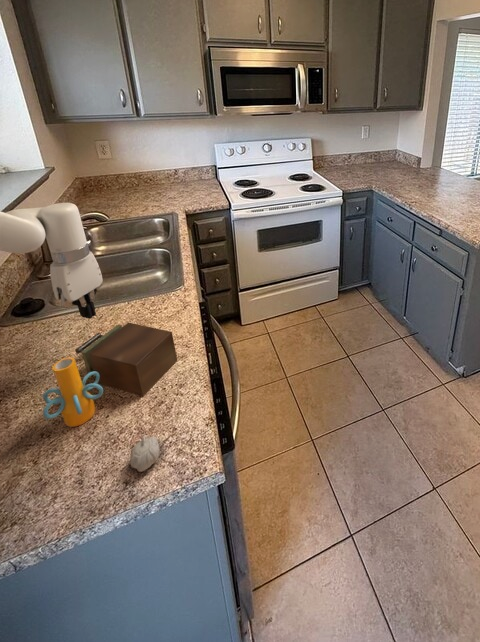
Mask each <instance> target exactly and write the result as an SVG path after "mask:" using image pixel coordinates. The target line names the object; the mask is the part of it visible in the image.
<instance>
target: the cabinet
mask: <svg viewBox="0 0 480 642" xmlns="http://www.w3.org/2000/svg"><path fill="white" fill-rule="evenodd" d="M88 354H89V358H90V361H91V365H92V368H93V371H96V372H98V373H99V375H100V379H99V382H98V383H97V384H99V385H100V386H105V387H108V388H111V389H115V390H118V391H122V392H126V393H129V394H133V395H136V396H140V397H145V396H146V395H147V393H149V391H150V390H151V389H152V388H153V387H154V386H155V385H156V384H157V383H158V382H159V381H160V380H161V379H162V378H163V377H164V375H165V374H166V373H167V372H168V371H169V370H170V369H171V368H172V367H173V366H174V365H175V364H176V363H177V362H178V356H177V351H176V346H175V340H174V335H173V331H170V330H165V329H160V328H157V327H151V326H146V325H142V324H138V323H133V322H126V324H124V325H123V326H122V328H121V329H119V330H118V331H117V332H115V333H114V334H113V335H111V336H110V337H109V338H108V339H106V340H105V341H104V342H102V343H101V344H100V345H99V346H97V347H96V348H95V349H93V350H92V351H91V352H89V353H88ZM94 379H96V376H95V375H94Z"/></svg>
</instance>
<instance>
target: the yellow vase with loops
mask: <svg viewBox="0 0 480 642" xmlns="http://www.w3.org/2000/svg"><path fill="white" fill-rule="evenodd" d="M52 371H53V373H54V378H55V380H56V384H57V387H58V388H49V389H47V390H45V392H43V395H42V399H43V401H44V402H45V403H46V405H45V407H44V409H43V413H42V414H43V418H45V419H47V420H51V419H54V418H55V419H56V417H59V415H60V414H61V416H62V419H63V423H64V424H65V425H66V426H67V427H71V428H72V427H79V426H81V425H83V424H85V423H86V422H88V421H89V420H90V419H91V418H92V417H93V416H94V414H95V413H96V405H95V402H94V400H97V399H99V398H101V397H102V396H103V395H104V388H103V387H102V386H103V385H101V384H97V383H98V382H99V379H100V375H99V373H98V372H96V371H93V372H90V373H88V372H87V374H86V375H84V377H83V378H81V375H80V372H79V368H78V365H77V361H76V359H75V358H74V357H72V356H71V357H69V356H68V357H64V358H62V359H59V360H58V361H56V362H55V363H54V364H53V365H52ZM91 375H94V377H95V376H96V378H95V380H94V382H92V383H87V384H86V382H87V380H88V379H89V378H91ZM94 388H95V389H97V390H98V393H97V394H93V395H92V393H91V392H90V391H91V390H93V389H94ZM52 393H53V394H54V393H55V394H58V395H59V396H58V397H54V398H53V399H50V398H49V394H52ZM53 405H60V407H59V408H58V410H56V412H54V413H51V414H49V410H50V408H51V407H52V406H53Z"/></svg>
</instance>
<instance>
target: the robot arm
mask: <svg viewBox="0 0 480 642" xmlns="http://www.w3.org/2000/svg"><path fill="white" fill-rule="evenodd" d="M45 240H46V243H47V245H48V249H49V252H50V255H51V258H52V263H51V264H50V267H49V274H50V282H51V287H52V291H53V296H54V298H55V299H56V300H57V301H60V307H61V308H64V309H68V308H70V307H73V306H77V309H78V312H79V315H80V317H82V318H84V319H89V320H90V319H92V318H93V317H95V316H96V315H97V313H96V307H95V304H94V302H95V300H96V297H95V296H96V294H97V293H98V291H99V290H100V289H101V288H102V287H103V286H104V285H103V281H104V280H103V275H102V272H101V268H100V265H99V263H98V261H97V258H96V257H95V255H94V253H93V252H92V251H91V250H90V248H89V247H90V246H91V245H92V242H91V240H88V239H87V237H86V233H85V229H84V226H83V222H82V218H81V214H80V210H79V208H78V206H77V205H76V204H74V203H72V202H58V203H57V202H56V203H52V204H48V205H46V206H41V207H29V208H16V209H11V210H9V211H6V212H4V211H1V210H0V251H1V252H6V253H10V254H28V253H33V252H34V251H37V250H38V249H39V248H40V247H42V245H43V244H44V243H45Z"/></svg>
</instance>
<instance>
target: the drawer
mask: <svg viewBox="0 0 480 642" xmlns="http://www.w3.org/2000/svg"><path fill="white" fill-rule="evenodd" d="M122 327H123V326H122V324H117V325H115V326H114V327H113V328H112V329H110V330H109V331H107V332H106V333H105V334H102V333H101V332H97V333H96V334H95V335H93V336H92V337H90V338H89V339H87V341H85V342H84V343H82V344H81V345H79V346H78V347H77V348H75V350H74V352H75V353H76V354H77V355H79V354H80V353H81V355H82V358H83V362H84V366H85V368H86V372H87V374H88V373H90V372H93V368H92V365H91V361H90V358H89V354H88V353H89V352H91V351H92V350H93V349H95V348H96V347H97V346H99V345H100V344H101V343H102V342H104V341H105V340H106V339H108V338H109V337H110V336H111V335H113V334H114V333H115V332H117V331H118V330H119V329H121V328H122ZM94 377H95V375H91V376H90V378H94Z"/></svg>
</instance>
